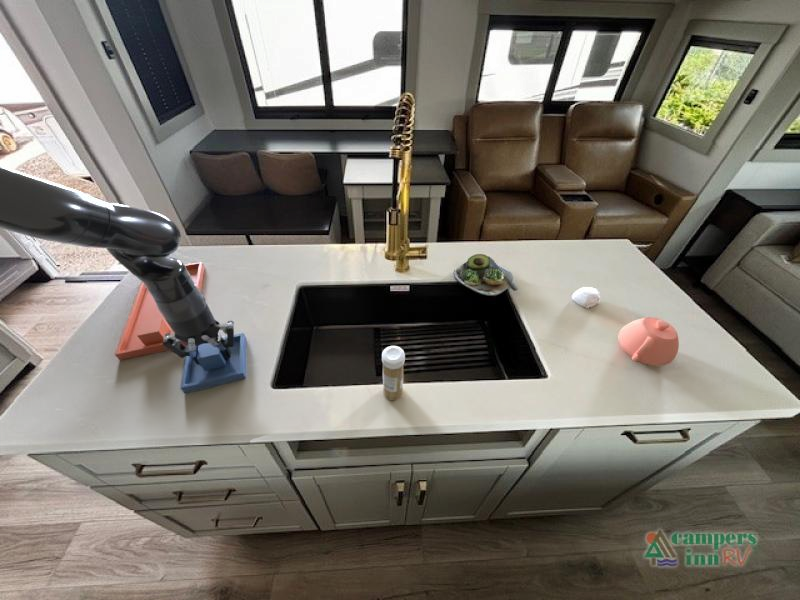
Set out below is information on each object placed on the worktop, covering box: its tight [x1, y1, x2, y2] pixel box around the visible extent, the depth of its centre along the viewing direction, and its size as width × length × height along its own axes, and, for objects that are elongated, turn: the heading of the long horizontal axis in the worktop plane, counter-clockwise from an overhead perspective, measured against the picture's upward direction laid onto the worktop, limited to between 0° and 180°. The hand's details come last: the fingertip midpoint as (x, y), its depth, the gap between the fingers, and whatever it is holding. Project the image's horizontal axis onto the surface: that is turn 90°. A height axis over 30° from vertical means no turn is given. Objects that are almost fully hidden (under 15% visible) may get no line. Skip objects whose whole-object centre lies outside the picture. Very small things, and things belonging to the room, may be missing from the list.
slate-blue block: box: [197, 343, 226, 371], centre depth 74 cm, size 4×4×4 cm
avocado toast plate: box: [453, 253, 519, 297], centre depth 101 cm, size 19×18×5 cm
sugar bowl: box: [617, 316, 680, 367], centre depth 79 cm, size 12×14×10 cm
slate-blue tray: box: [180, 332, 247, 394], centre depth 76 cm, size 13×13×2 cm
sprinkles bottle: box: [381, 345, 406, 401], centre depth 68 cm, size 5×5×14 cm
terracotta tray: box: [114, 261, 206, 361], centre depth 89 cm, size 16×34×2 cm, turn 19°
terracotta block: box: [137, 319, 170, 346], centre depth 79 cm, size 4×4×4 cm
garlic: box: [571, 286, 601, 309], centre depth 95 cm, size 8×7×4 cm
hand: (215, 360), depth 75 cm, fingers closed on slate-blue block, 4 cm apart
